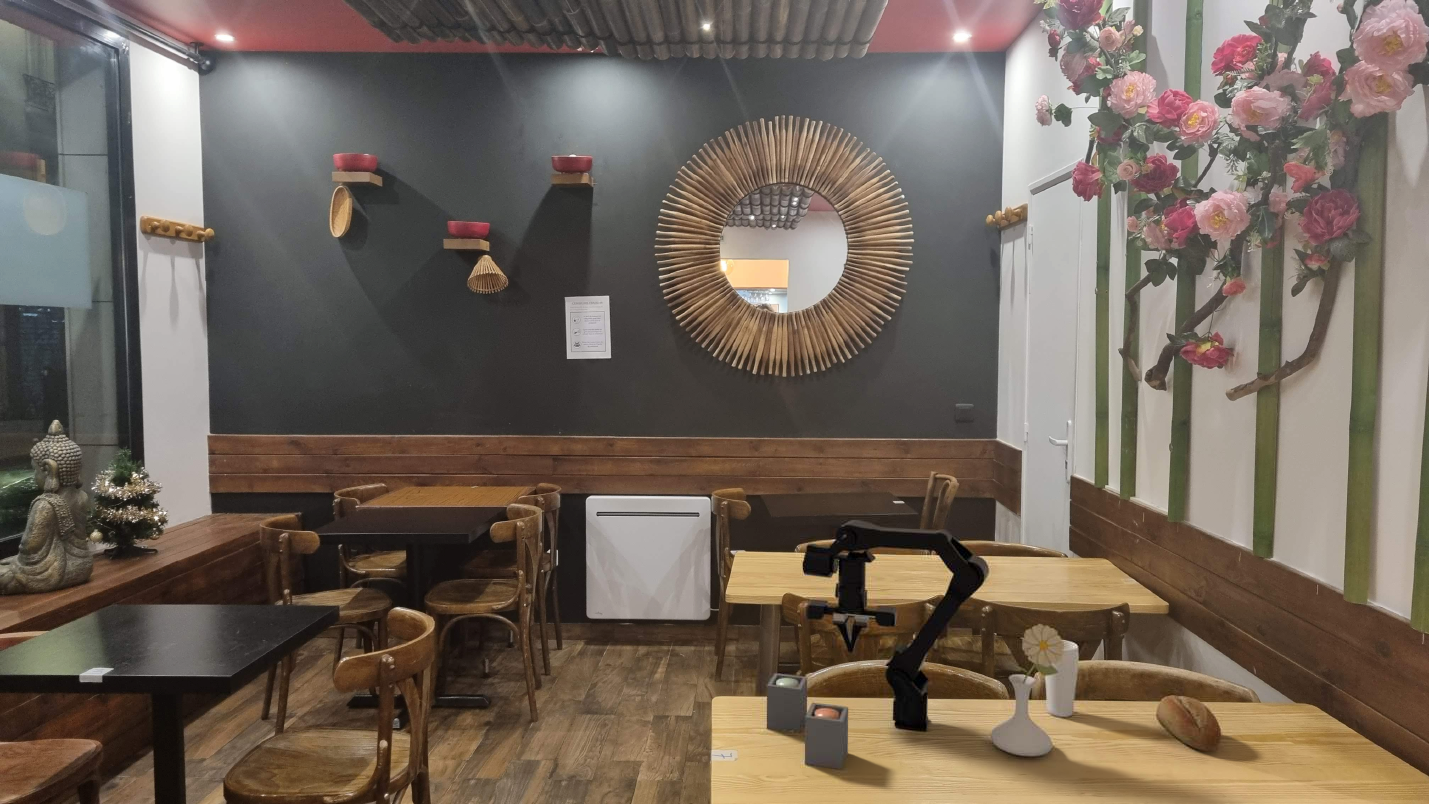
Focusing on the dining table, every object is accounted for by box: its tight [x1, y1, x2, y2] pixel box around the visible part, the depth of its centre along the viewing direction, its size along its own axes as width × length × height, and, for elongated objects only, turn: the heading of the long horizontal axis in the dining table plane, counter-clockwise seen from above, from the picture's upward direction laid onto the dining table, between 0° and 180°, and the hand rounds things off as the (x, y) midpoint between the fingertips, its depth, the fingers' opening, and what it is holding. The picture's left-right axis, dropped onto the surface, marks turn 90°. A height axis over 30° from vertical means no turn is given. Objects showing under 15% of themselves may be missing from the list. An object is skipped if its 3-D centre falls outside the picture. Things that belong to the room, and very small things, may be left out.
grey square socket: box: [766, 672, 808, 733], centre depth 174 cm, size 7×7×9 cm
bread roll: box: [1155, 694, 1222, 752], centre depth 168 cm, size 10×15×8 cm, turn 3°
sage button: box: [776, 678, 798, 688], centre depth 173 cm, size 5×5×2 cm
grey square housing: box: [804, 702, 849, 771], centre depth 159 cm, size 7×7×9 cm
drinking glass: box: [1044, 639, 1080, 718], centre depth 179 cm, size 7×7×15 cm
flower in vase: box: [989, 623, 1064, 757], centre depth 162 cm, size 13×11×25 cm
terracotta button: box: [815, 708, 839, 720], centre depth 158 cm, size 5×5×2 cm
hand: (850, 652), depth 179 cm, fingers closed
